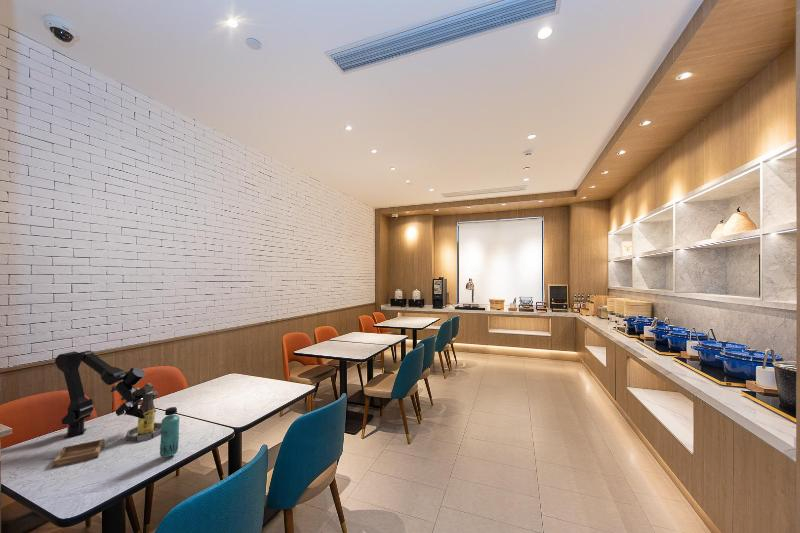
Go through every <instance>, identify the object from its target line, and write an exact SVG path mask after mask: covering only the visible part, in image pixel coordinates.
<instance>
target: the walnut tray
mask: <svg viewBox="0 0 800 533" xmlns="http://www.w3.org/2000/svg"><path fill="white" fill-rule="evenodd" d="M104 446H105V438H102V439H98V440H93V441H88V442H84V443H78V444H74V445H69V446H64V447H63V448H62V449H61V450H60V452H59V453H58V454H57V455H56V457H55V458H54V460H53V461H52V469H56V468H60V467H63V466H64V465H65V466H70V465H73V464H77V463H82V462H86V461H90V459H91V460H94V459H99V456H100V454H101V452H102V450H103V448H104ZM59 466H60V467H59Z"/></svg>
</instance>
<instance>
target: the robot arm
mask: <svg viewBox="0 0 800 533" xmlns="http://www.w3.org/2000/svg"><path fill="white" fill-rule="evenodd" d="M54 363H55V365H56V367H57V370H59V371H60V372H62V373H63V375H64V379H65V383H66V388H67V392H68V395H69V396H68V397H69V401H70V402H69V404H68V407H67V414H66V415H65V416H64V417H63V418H61V424H62V425H67V430H66V431H67V432H66V434H64V439H65V438H70V437H75V436H76V437H77V436H80V435H81V436H82V435H84V434H85V432H86V431H87V428H86V427H85V422H86V421H85V419H87V418H90V416H91V414H92V412H93V411H94V407H95V405H94V402H93V399H92V398H87V397H86V396H85V392H84V386H83V383H82V379H81V376H80V375H81V374H80V370H79V367H80V366H81V363H84V364H86V366H88V367H89V368H91V369H92V370H93V371H95V372H96V373H97V374H98V375H99V376H100V380H101V381H102V382H103V383H104V384H105V385H107V386H112V387H111V390H110V392H111V393H114V392H117V393H118V394H119V396H120V397H122V398H121V399H120V400H121V401H125V402H123V403H122V404H121V405H120V406H119V407H118V408H116V410H115V414H116V416H117V417H120V416H122V415H124V416H126V415H127V416H130V417H135V418H137V419H138V418H141V419H144V418H145V416H144V415H143V413H142V412H141V411H140V410H139V408H140V407H139V404H142V403H143V394H145V393H147V392H149V391H153V400H154V399H155V397H156V396H158V394H159V392H158V391H157V390H153V388H154V385H153V384H152V383H151V382H148V383H146V384H144V386H143V387H135V385H137V384H138V383H139V382H141V380H142V379H144V377H145V376H146V375H147V374H146V371H145V370H144V369H142V368H139V367H137V366H134V367H131V368H130V370H128V371H125V370H123V369H121V368H119V367H116V366H112V365H110V364H109V363H107V362H106V361H104V360H103V359H101V358H100V357H99V356H98V355H96V354H95V353H94V351H92V350H85V351H79V352H78V351H70V352H69V351H68V352H64V353H61V354H57V356H56V357H55V359H54ZM114 384H115V385H114ZM153 404H154V402H153ZM154 405H155V404H154ZM156 412H157V410H156V409H155V413H156Z"/></svg>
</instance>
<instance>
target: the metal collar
mask: <svg viewBox="0 0 800 533" xmlns="http://www.w3.org/2000/svg"><path fill="white" fill-rule="evenodd" d="M161 426H162V422H156V421H154V428H158V429H155V430H153V432H152V433H148V434H143V435H139V436H137V435H136V434H138V433H137V427H138V425H137V426H135V427H132V428H131V429H128V430H127V432H126V434H125V442H128V443H129V442H130V443H140V442H144V441H148V440H152V439H154V438H157V437H159V436H161V435H160V434H161ZM151 438H152V439H151Z"/></svg>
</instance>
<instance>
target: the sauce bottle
mask: <svg viewBox="0 0 800 533" xmlns="http://www.w3.org/2000/svg"><path fill="white" fill-rule="evenodd" d="M153 391H154V390H152V391H149V392H147V393H145V394H143V402H142V403H141V405H140V406H139V407H138V408H139V410H140V411H141V412H142V413H143V415H144V416H145V418H144V419H141V418H138V417H137V426H138V427H137V426H136V427H137V433H136V434H137V435H136V436H139V435H143V434H148V433H152V432H154V431H155V430H154V423H155V417H156V415H155V414H156V412H155V410H156V407H155V404H153V403H154V399H153Z"/></svg>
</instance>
